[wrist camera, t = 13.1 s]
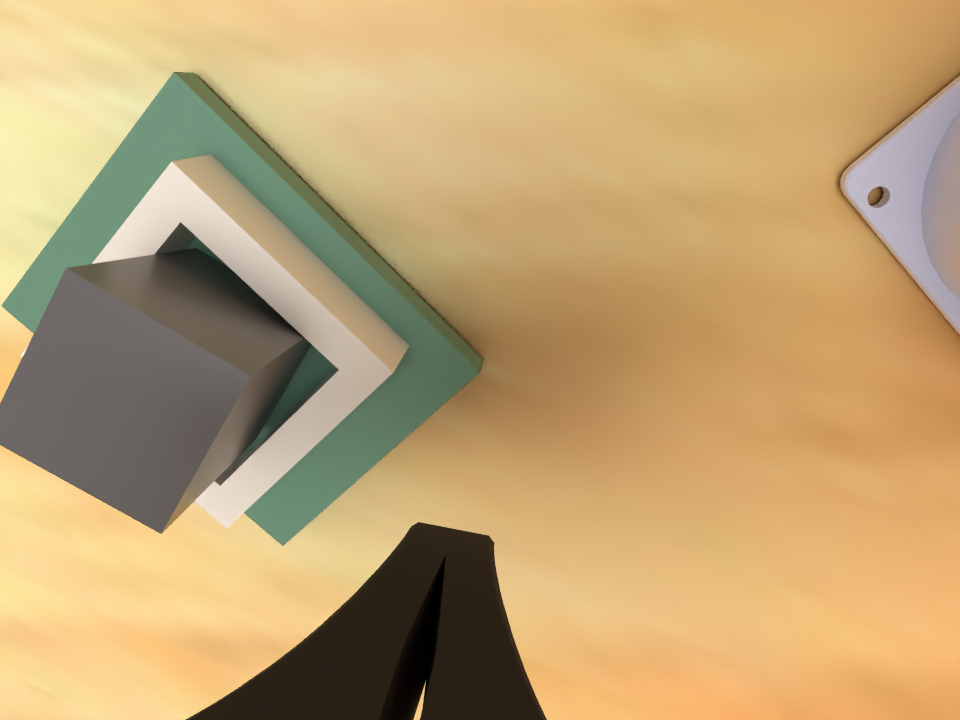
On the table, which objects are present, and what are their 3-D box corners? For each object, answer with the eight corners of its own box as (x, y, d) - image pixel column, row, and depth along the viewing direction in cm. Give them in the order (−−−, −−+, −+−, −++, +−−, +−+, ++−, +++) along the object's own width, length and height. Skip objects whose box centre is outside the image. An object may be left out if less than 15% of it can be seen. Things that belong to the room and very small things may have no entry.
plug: (322, 324, 20) (250, 376, 14) (231, 482, 21) (128, 592, 15) (196, 247, 19) (66, 267, 13) (109, 413, 20) (-46, 498, 14)
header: (409, 345, 20) (393, 372, 18) (255, 491, 22) (226, 528, 20) (211, 154, 18) (171, 161, 16) (69, 331, 21) (20, 355, 19)
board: (483, 359, 21) (479, 372, 20) (293, 527, 23) (282, 546, 23) (193, 72, 19) (173, 71, 18) (25, 296, 21) (1, 305, 21)
